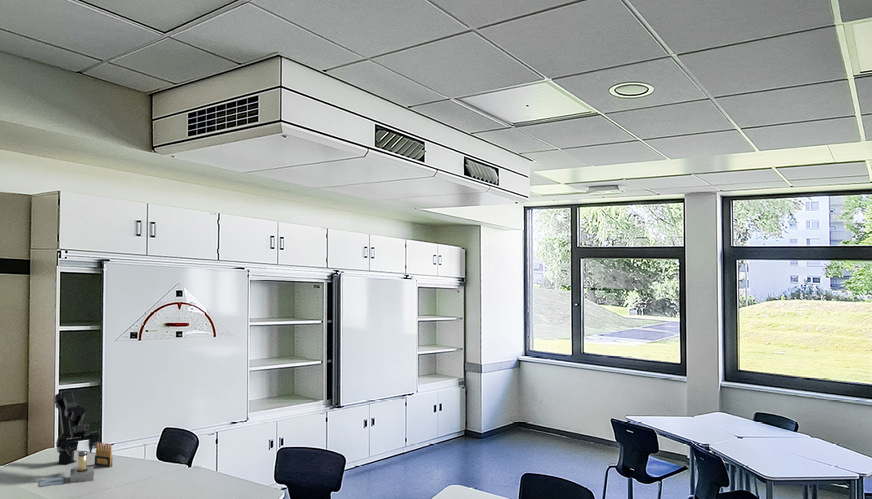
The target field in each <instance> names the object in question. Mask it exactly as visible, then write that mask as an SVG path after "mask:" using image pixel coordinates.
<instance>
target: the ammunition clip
mask: <svg viewBox="0 0 872 499" xmlns="http://www.w3.org/2000/svg"><path fill="white" fill-rule="evenodd" d="M112 455H113V452H112V444H111V443H110V444H109V443H106V442H105V443H104V442H102V443H101V442H99V441H97V442H96V448H95V455H94V462H93V463H94V466H98V467H103V468H104V467H105V468H111V467H113V456H112Z"/></svg>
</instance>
